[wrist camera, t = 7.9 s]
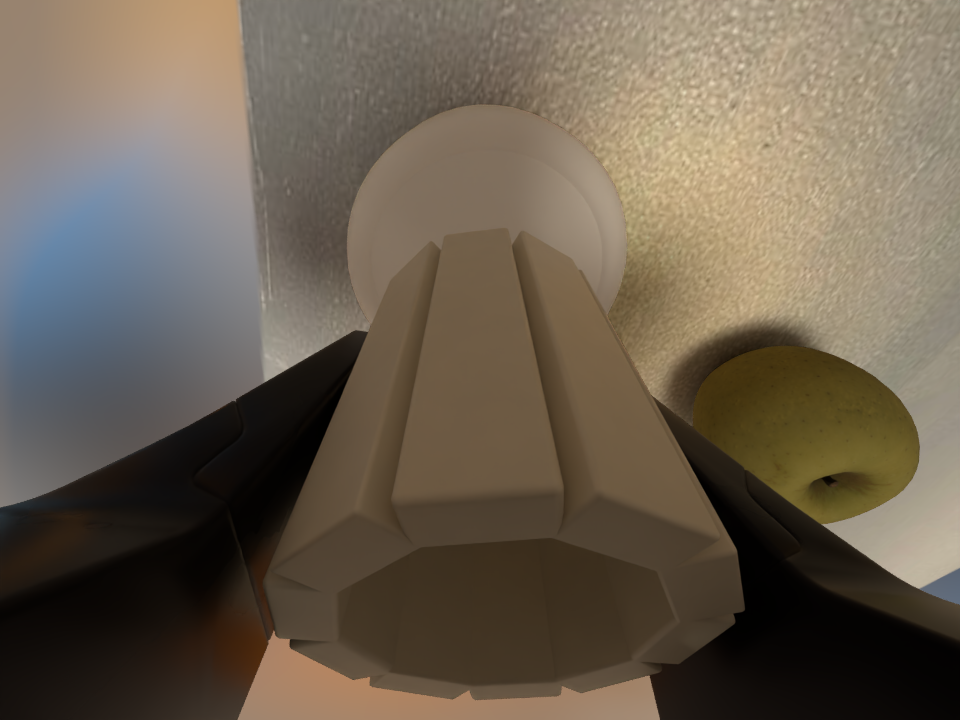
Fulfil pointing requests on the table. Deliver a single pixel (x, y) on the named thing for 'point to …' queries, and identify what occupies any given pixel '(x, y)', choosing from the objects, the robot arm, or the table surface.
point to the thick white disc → (485, 197)
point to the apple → (810, 429)
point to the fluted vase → (499, 495)
